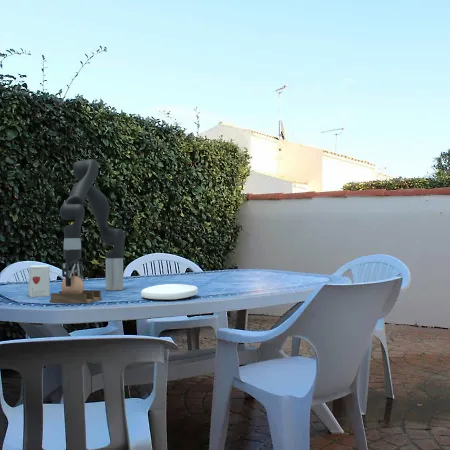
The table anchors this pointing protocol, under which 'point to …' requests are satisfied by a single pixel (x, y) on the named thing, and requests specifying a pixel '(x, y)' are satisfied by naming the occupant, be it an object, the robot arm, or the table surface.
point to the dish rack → (76, 297)
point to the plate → (169, 291)
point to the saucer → (73, 286)
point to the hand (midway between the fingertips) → (72, 285)
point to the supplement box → (39, 280)
